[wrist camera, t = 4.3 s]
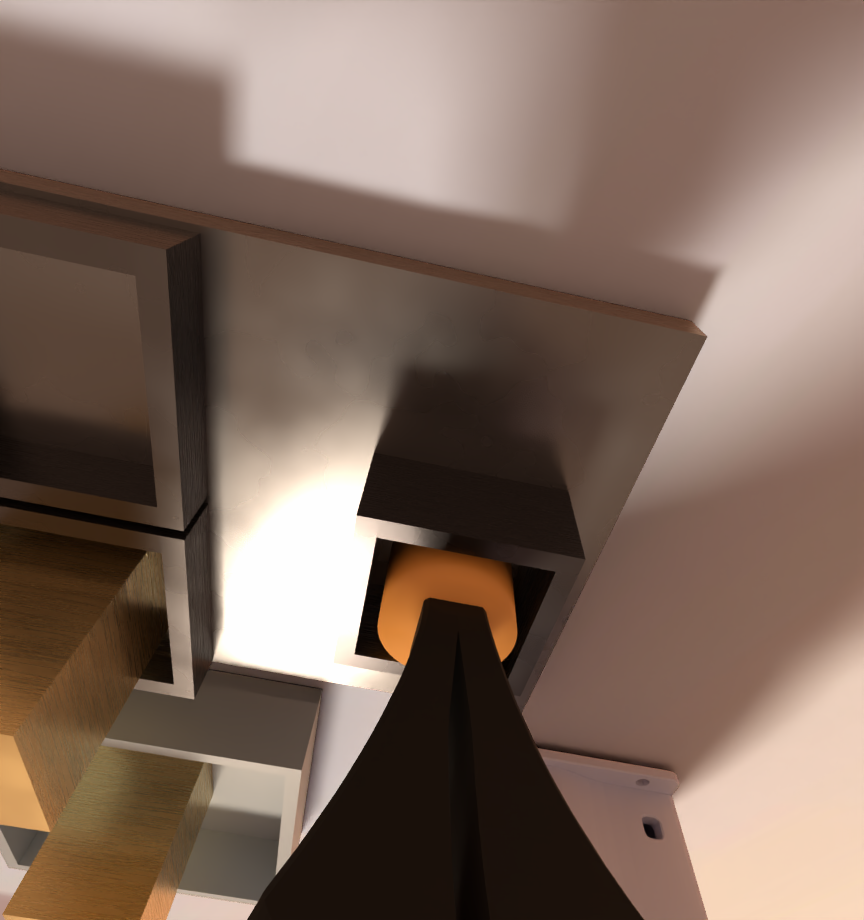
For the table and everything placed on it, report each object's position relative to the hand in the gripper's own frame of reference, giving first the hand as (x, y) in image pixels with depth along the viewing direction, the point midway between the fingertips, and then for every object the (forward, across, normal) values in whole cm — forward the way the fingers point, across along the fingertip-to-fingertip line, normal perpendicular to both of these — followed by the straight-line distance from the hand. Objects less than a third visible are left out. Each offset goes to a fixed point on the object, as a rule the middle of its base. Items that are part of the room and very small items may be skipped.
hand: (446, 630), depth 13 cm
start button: (+2, 0, 0) cm, 2 cm away
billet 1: (+3, +10, +4) cm, 11 cm away
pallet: (+4, +6, 0) cm, 7 cm away
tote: (+4, +9, +15) cm, 18 cm away
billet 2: (+3, +9, +15) cm, 18 cm away
